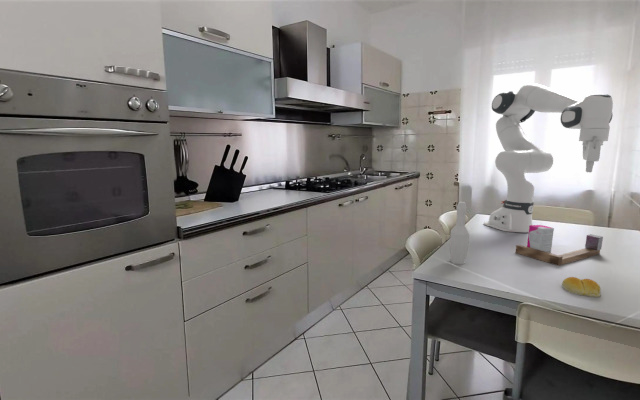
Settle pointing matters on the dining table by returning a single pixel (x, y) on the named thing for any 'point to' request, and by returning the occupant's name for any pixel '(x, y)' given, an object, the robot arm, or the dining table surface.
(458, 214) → the faceted bottle
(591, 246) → the l-shaped wooden bracket
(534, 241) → the supplement box
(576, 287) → the bread roll
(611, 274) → the dining table surface
